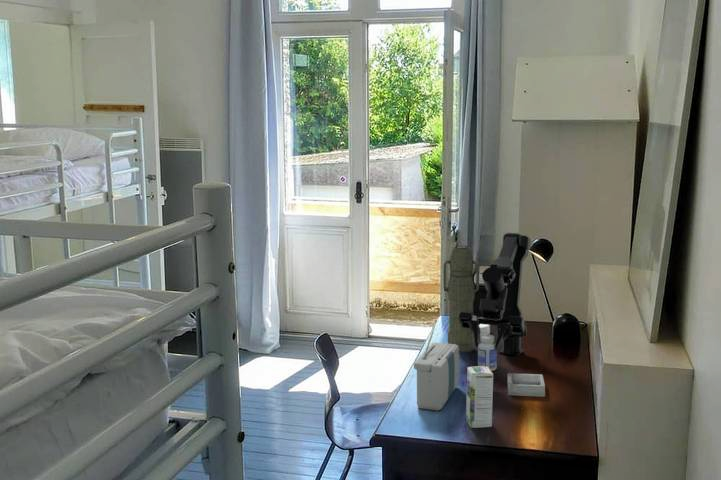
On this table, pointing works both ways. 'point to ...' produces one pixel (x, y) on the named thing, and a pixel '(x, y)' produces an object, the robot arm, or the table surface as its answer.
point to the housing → (526, 385)
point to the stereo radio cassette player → (437, 374)
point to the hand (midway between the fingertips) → (486, 347)
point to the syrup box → (479, 397)
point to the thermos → (461, 295)
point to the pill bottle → (487, 352)
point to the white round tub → (484, 329)
